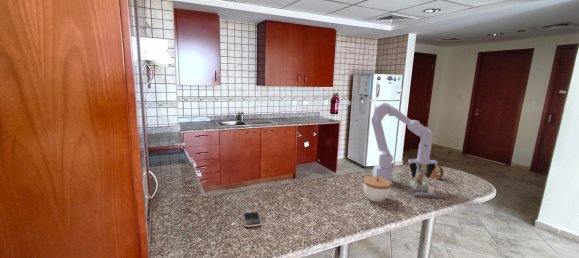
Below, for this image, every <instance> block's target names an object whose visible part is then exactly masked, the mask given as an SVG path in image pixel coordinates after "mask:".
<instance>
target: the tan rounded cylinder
mask: <svg viewBox="0 0 579 258" xmlns="http://www.w3.org/2000/svg"><path fill="white" fill-rule="evenodd" d="M424 176H425V175H424V174H423V173H420V172H417V173H416V180H415V181H416V184H417V185H422V183H423V182H424Z"/></svg>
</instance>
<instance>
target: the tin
mask: <svg viewBox="0 0 579 258" xmlns="http://www.w3.org/2000/svg"><path fill="white" fill-rule="evenodd" d="M435 166H436V168H435V169H434V170H433V171H432V173H431V175H430V177H429V178H433V179H435V180H439V179H441V178H443V176H444V169H443V168H442V166H440V165H438V164H437V165H435ZM418 170H419V173H423V174H424V175H423V176H426V170H427V165H426V164H418Z"/></svg>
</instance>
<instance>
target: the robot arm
mask: <svg viewBox="0 0 579 258" xmlns="http://www.w3.org/2000/svg"><path fill="white" fill-rule="evenodd" d="M387 115H388V117H395V118H396V119H398V121H401V123H404V124H405V125H406V127H407V129H408V130H409V131H410V132H412V133H413V134H415V135H416V137H417V136H418V137H419V138H420V142H419V143H418V150H417V157H416V158H413V159H412V158H411V159H409V158H408V161H407V164H408V166H409V168H410V171H411V177H412V178H416V175H417V173H416V172H417V170H418V168H419V164H426V165H427V170H426V175H425V177H426V178H427V179H430V178H431V177H430V175H431V173H432V171H433V170H434V169H435V168H436V166H435V165H438V161H437V160H433V159H430V156H431V153H432V152H431V151H432V147H433V146H432V145H433V144H432V143H433V142H432V141H433V140H434V133H433V130H431V129H430V128H429V127H428V126H424V124H421V123H420V121H419V120H416V119H410V118H409V117H407V115H405V114H404V113H402V112H401V111H400V110H399V109H398V108H396V107H394V106H392V105H390V104H389V103H388V102H382V103H380V104H379V105H377V107H375V109H374V112H373V114H372V117H371V124H372V128H373V132H374V137H375V140H376V144H377V149H378V157H379V159H378V165H374V166H373V169H372V176H376V177H382V178H385V179H387V180H389V181H390V182H391V185H392V184H394V182H392V180H391V179H392V172H393V171H392V170H393V165H392V162H393V160H394V157H393V155H392V154H391V152H390V149H389V148H388V144H387V140H386V136H385V131H384V127H383V124H382V121H383V120H384V118H385V116H387Z"/></svg>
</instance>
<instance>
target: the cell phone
mask: <svg viewBox="0 0 579 258" xmlns="http://www.w3.org/2000/svg"><path fill="white" fill-rule="evenodd" d="M242 216H243V220H244V226H245V227H252V228H258V227H257V226H259V227H261V226H262V221H261V217H260V214H259V211H247V212H246V211H245V212H243V213H242Z"/></svg>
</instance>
